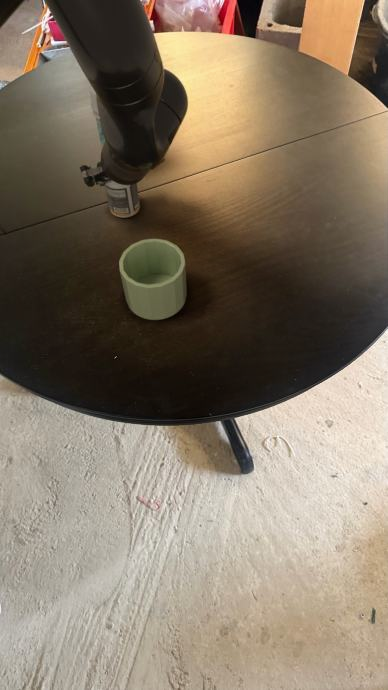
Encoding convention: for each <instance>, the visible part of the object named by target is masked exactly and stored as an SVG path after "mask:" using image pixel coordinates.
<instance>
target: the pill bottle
mask: <svg viewBox="0 0 388 690" xmlns="http://www.w3.org/2000/svg"><path fill="white" fill-rule="evenodd" d="M103 187H104V189H105V194H106V199H107V204H108V208H109V210H110V213H111V214H112V215H114V216H115V217H118V218H123V219H124V218H130V217H132V216H135V215H136V214H137V213H138V212H139V210H140V207H141V204H140V197H139V195H140V194H139V190H138V183H136V184H133V185H121V184H118V183H116V182H114V181H113V182H111V183H106V184H105V185H104V186H103Z"/></svg>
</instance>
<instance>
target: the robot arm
mask: <svg viewBox="0 0 388 690" xmlns="http://www.w3.org/2000/svg"><path fill="white" fill-rule="evenodd" d="M43 1H44V3H45V5H46V7H47V9H48V10H49V12H50V14H51V16H52V18H53V20H54V22H55V24H56V25H57V28H58V29H59V31H60V33H61V34H62V37H63V38H64V40H65V42H66V44H67V46H68V48H69V49H70V51H71V53H72V55H73V57H74V58H75V60H76V62H77V63H78V65H79V67H80V69H81V71H82V72H83V74H84V76H85V78H86V79H87V80H88V82H89V84H90V86H92V88H93V89H94V91H95V93H96V100H97V107H98V111H99V117H100V123H101V127H102V131H103V135H104V137H105V142H104V145H103V148H101V152H100V161H99V162H97V164H96V167H93V168H92V166H91V165H87V164H83V165H81V166H80V167H79V170H80V173H81V176H82V179H83V182H84V184H85V185H86V186H87V187H88V188H89V187H90V188H93V187H94V186H95V185H96V186H98V185H99V186H100V187H105V186H104V185H105V184H106V183H111V182H113V181H114V182H116V183H118V184H121V185H133V184H136V183H137V184H138V183H139V182H141V181H142V180H143V179H144V178H145V177H146V176H147V175H148V173H149V172H150V171H153V170H154V169H156V168H157V167H159V166H160V165H161V164H163V163H164V162H166V156H167V154H168V152H169V149H170V148H171V146H172V144H173V141H174V139H175V137H176V136H177V133H178V131H179V129H180V128H181V125H182V124H183V122H184V120H185V117H186V115H187V112H188V108H189V98H188V94H187V93H188V92H187V91H186V88H185V86H184V84H183V82H182V81H181V80H180V79H179V77H178V76H177V75H176V74H175V73H173V72H172V71H170V70H168V69H166V68H164V64H163V59H162V56H161V53H160V49H159V46H158V43H157V40H156V37H155V34H154V32H153V31H154V30H153V28H152V25H151V22H150V19H149V17H148V14H147V12H146V9H145V7H144V5H143V2H142V0H43ZM24 2H26V0H0V30H2V28H3V27H4V26H5V25H6V23H8V21H9V20H10V19H11V17H12V16H13V15H14V14H15V13H16V12H17V11H18V10H19V8H21V6H22V5H23V4H24Z"/></svg>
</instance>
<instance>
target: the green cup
mask: <svg viewBox="0 0 388 690" xmlns="http://www.w3.org/2000/svg"><path fill="white" fill-rule="evenodd" d="M118 265H119V274H120V278H121V284H122V287H123V292H124V297H125V301H126V303H127V306H128V308H129V309H130V311H131V312H132V313H133V314H134V315H136V316H138V317H139V318H142V319H145V320H150V321H159V320H164V319H168V318H171V317H173V316H174V315H175V314H177V313H178V312H180V311H181V310H182V309H183V307H184V305H185V303H186V301H187V294H188V293H187V291H188V290H187V271H186V260H185V254H184V253H183V251H182V250H181V249H180V248H179V246H178V245H176V244H175V243H173V242H171V241H170V240H166V239H160V238H149V239H148V238H147V239H142V240H139V241H137V242H135V243H132V244H130V245H129V246H128V247H127V248H126V249H125V250H124V251H123V252H122V254H121V256H120V258H119V261H118Z"/></svg>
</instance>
